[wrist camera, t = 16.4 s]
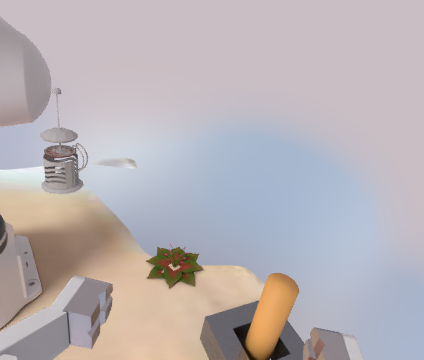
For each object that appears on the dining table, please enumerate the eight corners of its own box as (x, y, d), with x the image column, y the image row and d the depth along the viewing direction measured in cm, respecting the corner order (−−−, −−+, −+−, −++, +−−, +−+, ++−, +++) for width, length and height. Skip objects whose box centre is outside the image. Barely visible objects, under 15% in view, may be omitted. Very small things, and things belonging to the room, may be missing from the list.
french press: (57, 172, 81) (50, 81, 70) (96, 182, 80) (95, 90, 69) (32, 188, 72) (19, 86, 61) (75, 199, 72) (71, 97, 60)
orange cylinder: (233, 359, 43) (260, 281, 36) (250, 344, 45) (278, 268, 38) (254, 382, 40) (287, 304, 33) (270, 364, 43) (304, 288, 36)
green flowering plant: (135, 286, 52) (137, 267, 50) (151, 243, 63) (153, 226, 61) (201, 297, 52) (205, 278, 50) (206, 252, 63) (209, 236, 61)
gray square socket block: (200, 338, 45) (205, 316, 43) (262, 317, 50) (270, 297, 48) (238, 425, 36) (247, 404, 33) (309, 388, 41) (321, 367, 39)
